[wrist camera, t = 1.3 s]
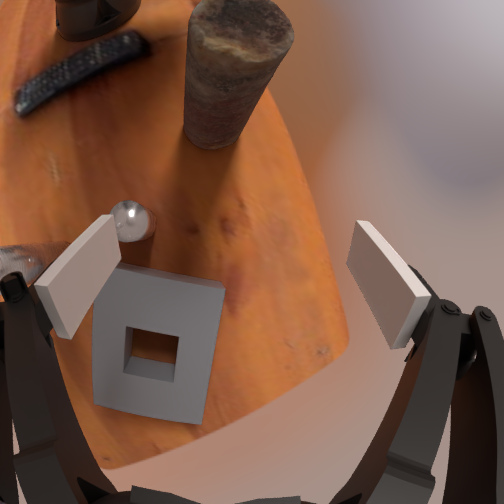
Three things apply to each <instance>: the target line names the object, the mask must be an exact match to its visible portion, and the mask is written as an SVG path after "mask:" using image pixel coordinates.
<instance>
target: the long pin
mask: <svg viewBox="0 0 504 504" xmlns="http://www.w3.org/2000/svg"><path fill="white" fill-rule="evenodd" d="M69 246H70V244H69V243H68V242H65V241H59V242H45V243H32V244H20V245H8V246H0V280H1V279H2V278H3V277H4V276H5V275H7V274H9V273H11V272H14V271H20V272H22V274H23V277H24V279H25V282H26V284H27V285H30V284H32V283H33V282H34V281H35V280H36V279H37V277H38V276H39V275H40V274H42V272H43V271H44V270H45V269H46V267H47V266H48V265H49V264H50V263H51V262H52V261H54V260H55V259H57V258H58V257H59V256H60V255H61V254H62V253H63V252H64V251H65V250H66V249H67V248H68V247H69ZM0 295H2V294H1V292H0Z"/></svg>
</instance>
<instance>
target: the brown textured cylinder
mask: <svg viewBox="0 0 504 504" xmlns="http://www.w3.org/2000/svg"><path fill="white" fill-rule="evenodd" d="M293 41H294V31H293V28H292V25H291V23H290V20H289V19H288V18H287V17H286V15H285V14H284V12H283V11H282V10H281V9H280V8H279V7H278V6H277V5H276V4H275V3H274V2H272V1H270V0H202V1H201V2H200V3H199V4H198V5H197V6H196V7H195V8H194V10H193V11H192V14H191V17H190V19H189V25H188V37H187V53H186V73H185V97H184V131H185V133H186V135H187V137H188V138H189V140H190V141H191V142H192V143H193V144H194V145H196V146H198V147H200V148H203V149H218V148H223V147H226V146H228V145H231V144H232V143H234V142H235V141H236V140H237V139H238V137H239V136H240V134H241V132H242V131H243V129H244V127H245V125H246V123H247V121H248V120H249V117H250V115H251V114H252V112H253V110H254V108H255V106H256V104H257V103H258V101H259V99H260V97H261V96H262V94H263V92H264V90H265V88H266V86H267V85H268V83H269V81H270V80H271V78H272V77H273V75H274V73H275V71H276V69H277V67H278V66H279V64H280V63H281V61H282V60H283V58H284V57H285V56H286V54H287V52H288V51H289V49H290V47H291V45H292V43H293Z"/></svg>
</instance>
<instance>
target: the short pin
mask: <svg viewBox="0 0 504 504" xmlns="http://www.w3.org/2000/svg"><path fill="white" fill-rule="evenodd" d="M109 215H114V221H115V227H116V233H117V238H118V240H119V241H122V242H133V241H141V240H146V239H148V238H149V237H151V236H152V234H153V233H154V231H155V229H156V218H155V216H154V214H153V213H152V211H150V210H149V209H147V208H145V207H144V206H142V205H140V204H138V203H136V202H134V201H130V200H126V201H122V202H120V203H118V204H116V205H115V206H114V207H113V208H112V210H111V212H110V214H109Z"/></svg>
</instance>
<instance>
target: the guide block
mask: <svg viewBox="0 0 504 504" xmlns="http://www.w3.org/2000/svg"><path fill="white" fill-rule="evenodd" d="M225 291H226V289H225V288H224V286H223V284H222V283H221V282H220V281H215V280H209V279H203V278H198V277H193V276H187V275H182V274H177V273H172V272H167V271H162V270H157V269H152V268H147V267H142V266H137V265H132V264H127V263H123V262H119V263H118V264H117V266H116V267H115V269H114V270H113V272H112V273H111V275H110V276H109V278H108V279H107V281H106V282H105V284H104V285H103V287H102V289H101V290H100V292H99V293H98V295H97V297H96V298H95V300H94V306H93V324H92V382H93V399H94V404H96V405H100V406H103V407H107V408H111V409H115V410H119V411H123V412H127V413H132V414H136V415H141V416H146V417H151V418H157V419H163V420H169V421H176V422H183V423H191V424H200V425H202V419H203V413H204V407H205V401H206V395H207V389H208V384H209V378H210V372H211V366H212V361H213V355H214V350H215V344H216V339H217V333H218V328H219V322H220V317H221V312H222V306H223V301H224V296H225ZM133 328H137V329H142V330H147V331H152V332H157V333H162V334H167V335H173V336H178V337H179V340H178V348H177V355H176V363H175V364H172V363H166V362H160V361H155V360H150V359H145V358H140V357H136V356H131V351H132V337H133Z"/></svg>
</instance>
